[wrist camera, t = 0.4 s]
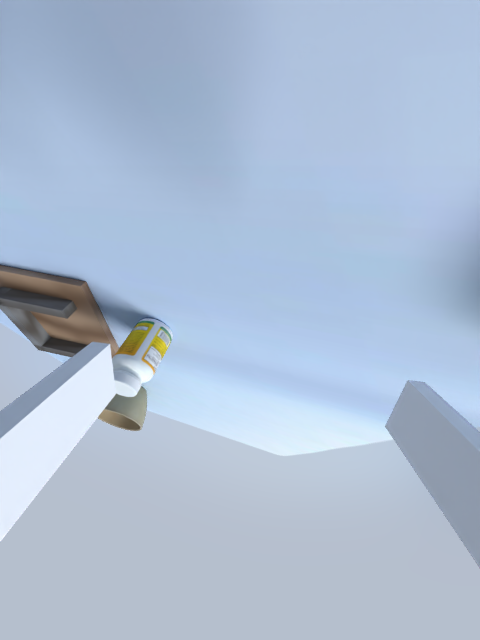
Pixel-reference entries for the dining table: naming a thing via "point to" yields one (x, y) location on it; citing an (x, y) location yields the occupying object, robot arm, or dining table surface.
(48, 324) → the u rest
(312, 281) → the dining table surface
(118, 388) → the supplement bottle
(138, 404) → the beige bowl
